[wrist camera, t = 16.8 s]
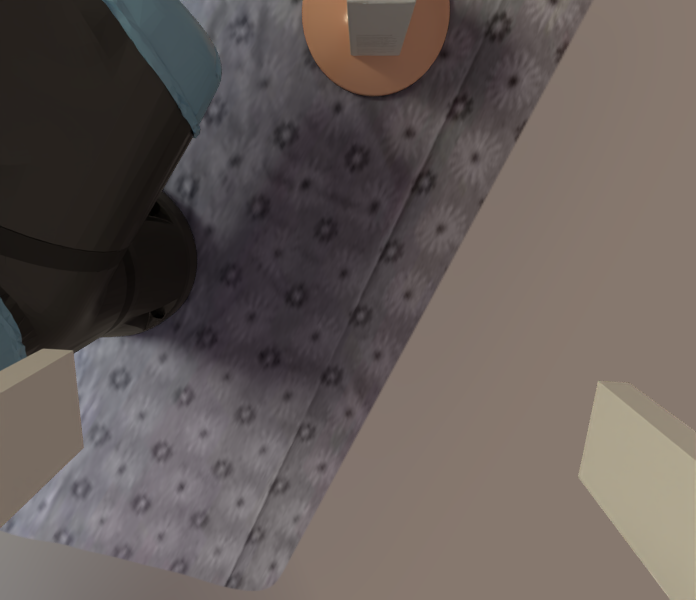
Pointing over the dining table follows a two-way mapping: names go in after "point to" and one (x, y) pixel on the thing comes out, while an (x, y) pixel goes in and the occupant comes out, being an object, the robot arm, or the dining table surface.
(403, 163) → the dining table surface
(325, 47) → the saucer
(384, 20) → the skincare box
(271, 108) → the dining table surface
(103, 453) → the dining table surface
